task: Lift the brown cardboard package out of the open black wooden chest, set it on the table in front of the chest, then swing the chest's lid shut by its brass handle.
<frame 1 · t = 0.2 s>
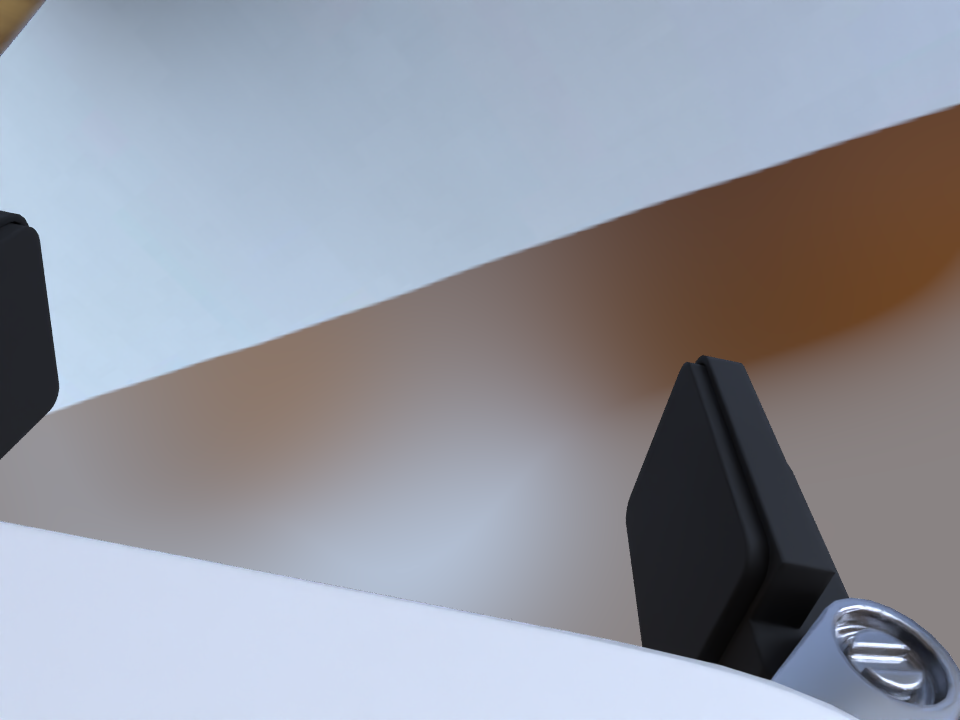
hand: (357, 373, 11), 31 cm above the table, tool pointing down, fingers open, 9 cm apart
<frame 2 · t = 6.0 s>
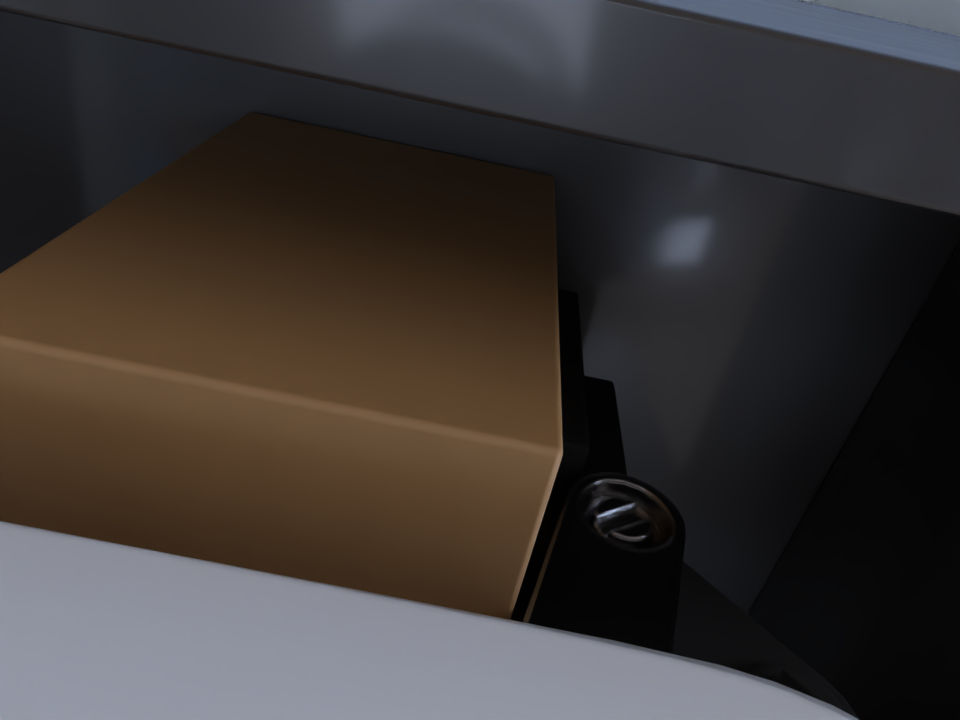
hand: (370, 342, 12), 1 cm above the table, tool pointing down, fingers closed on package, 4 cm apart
chest: (381, 349, 13), on the table
package: (379, 322, 12), point 1 cm above the table, touching chest, gripper
when the fingers open (1 cm above the table, at t = 13.5 s): package stays where it is, on the table.
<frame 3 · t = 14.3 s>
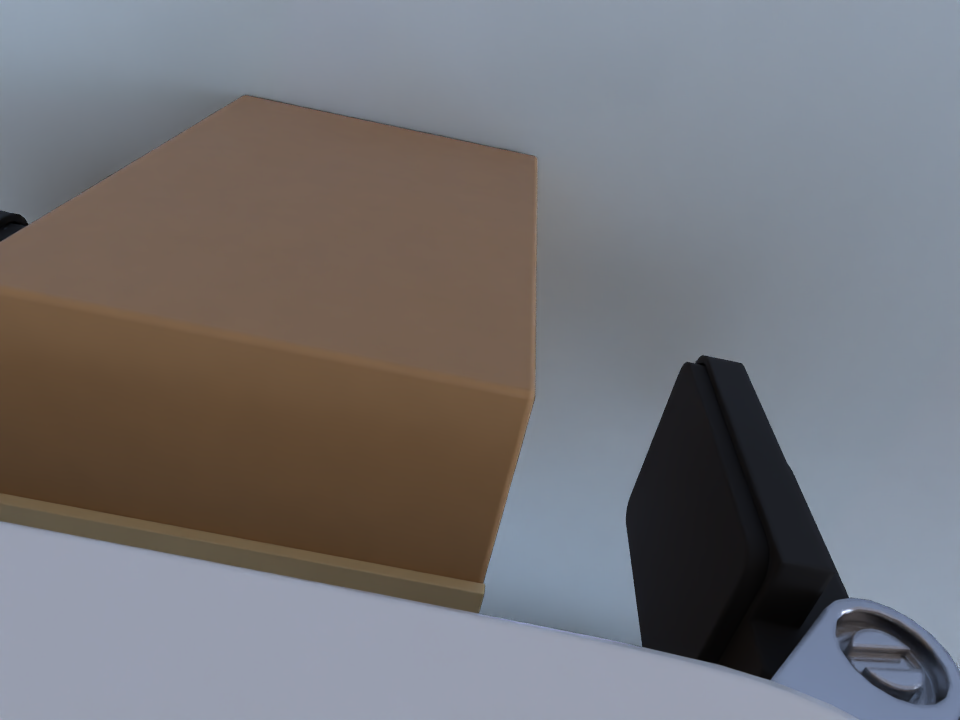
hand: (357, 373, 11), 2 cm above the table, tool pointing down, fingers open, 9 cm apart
package: (369, 300, 13), on the table
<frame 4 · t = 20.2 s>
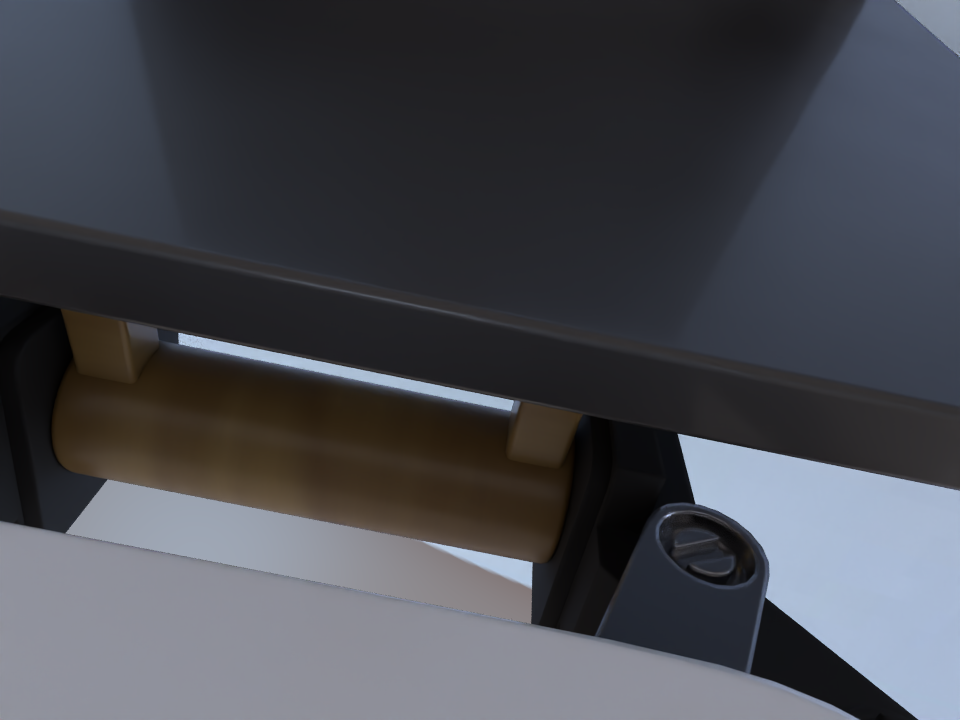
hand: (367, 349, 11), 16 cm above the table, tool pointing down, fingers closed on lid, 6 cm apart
lid: (413, 150, 12), point 14 cm above the table, hinge at 100.0°, touching gripper
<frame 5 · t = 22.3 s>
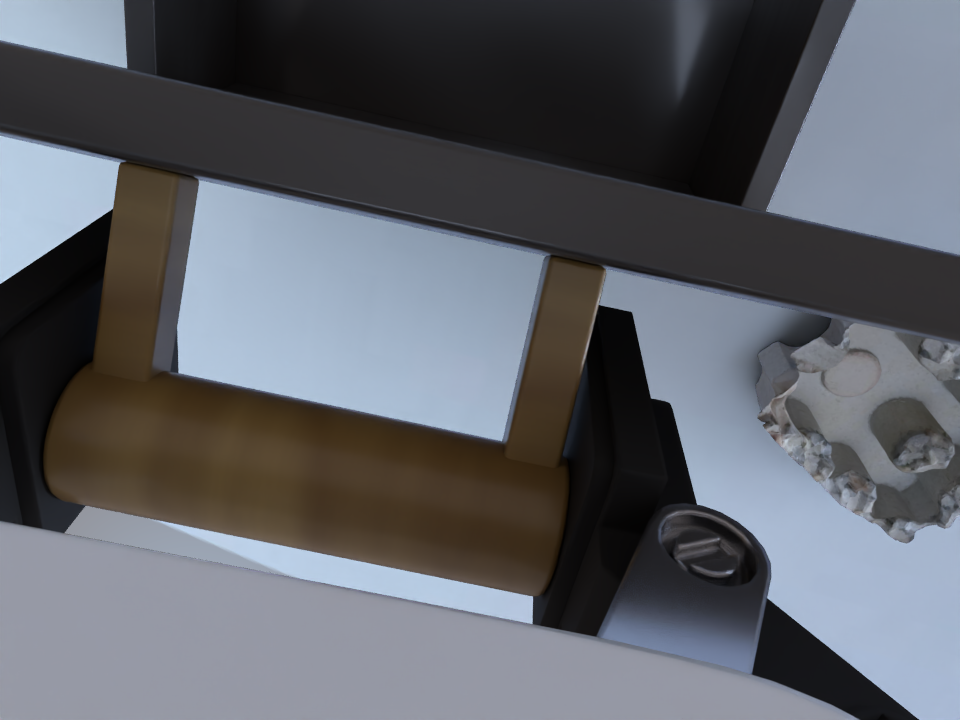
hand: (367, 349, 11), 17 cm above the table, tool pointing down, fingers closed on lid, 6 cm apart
grey lumpy piece: (876, 389, 31), on the table
lid: (393, 313, 14), point 15 cm above the table, hinge at 67.6°, touching gripper
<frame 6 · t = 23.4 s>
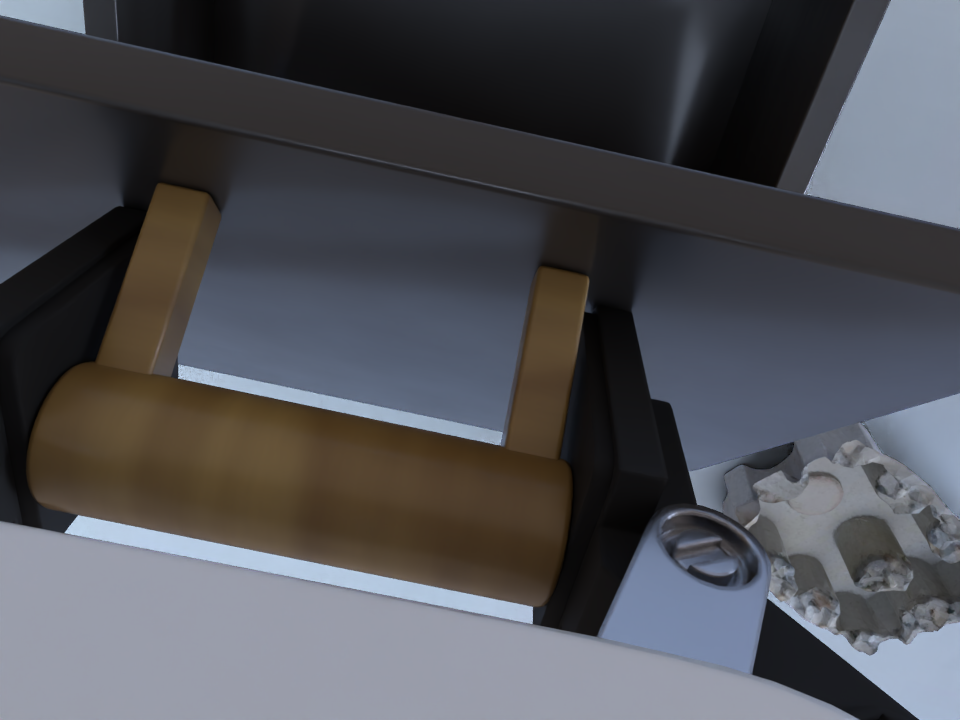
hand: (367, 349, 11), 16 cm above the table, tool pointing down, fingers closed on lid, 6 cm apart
chest: (466, 112, 25), on the table
grey lumpy piece: (839, 507, 32), on the table
lid: (370, 426, 14), point 14 cm above the table, hinge at 43.5°, touching gripper
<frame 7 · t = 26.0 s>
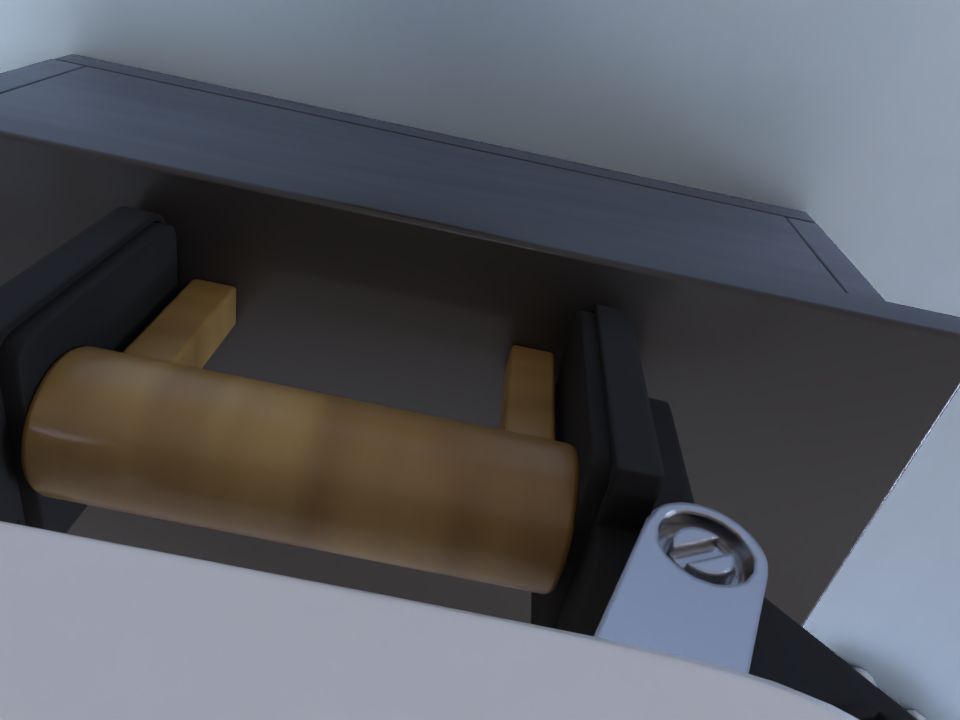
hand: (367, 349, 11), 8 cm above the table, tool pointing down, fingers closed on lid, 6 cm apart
chest: (406, 369, 21), on the table
lid: (320, 633, 13), point 9 cm above the table, hinge at 0.7°, touching gripper
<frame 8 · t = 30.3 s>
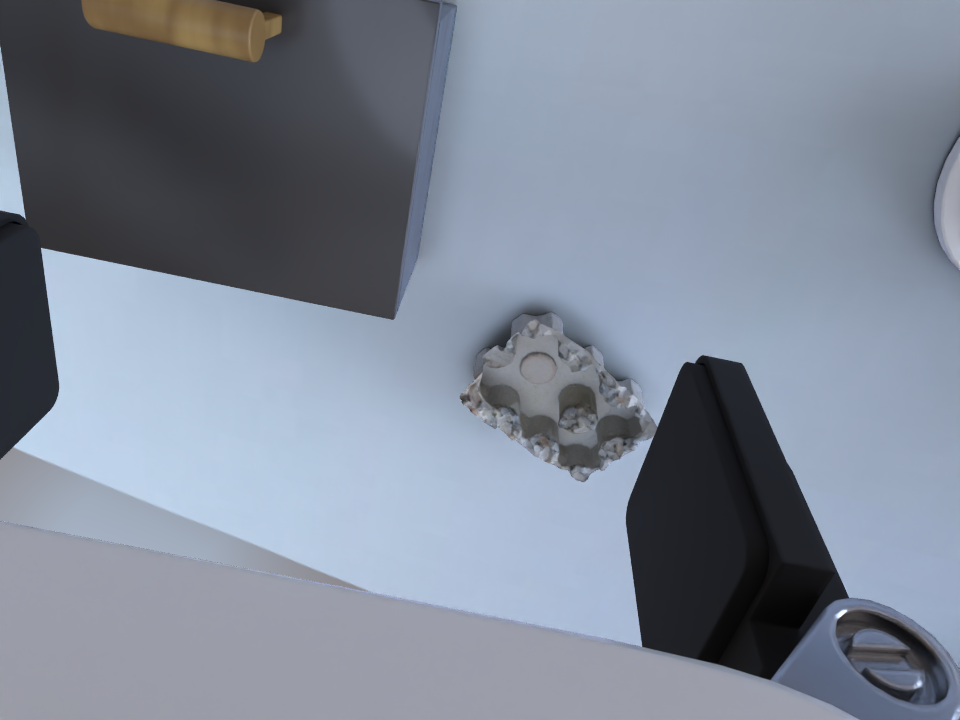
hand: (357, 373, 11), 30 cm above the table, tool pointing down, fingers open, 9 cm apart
chest: (268, 108, 39), on the table
grey lumpy piece: (559, 379, 46), on the table
lid: (196, 148, 31), point 9 cm above the table, hinge at 0.4°
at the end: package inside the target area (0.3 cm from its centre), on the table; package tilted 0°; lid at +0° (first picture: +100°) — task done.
